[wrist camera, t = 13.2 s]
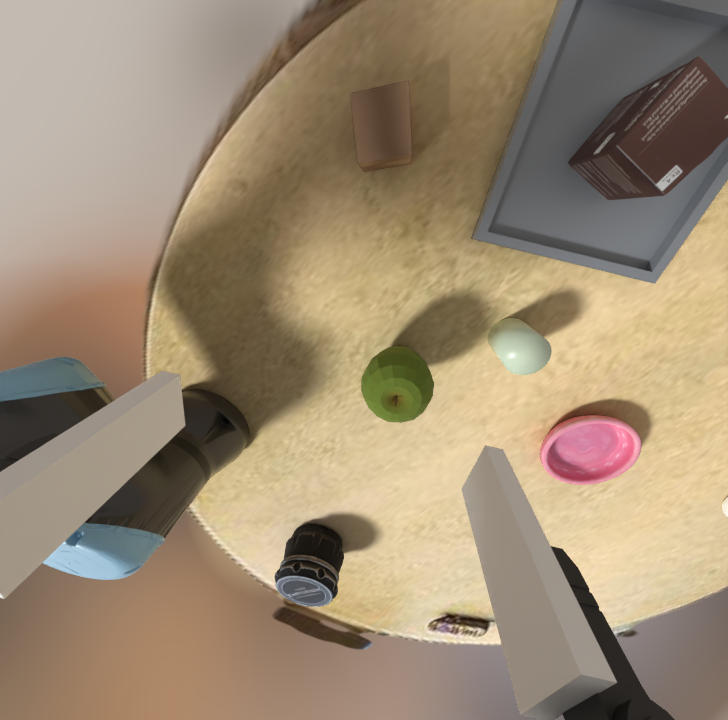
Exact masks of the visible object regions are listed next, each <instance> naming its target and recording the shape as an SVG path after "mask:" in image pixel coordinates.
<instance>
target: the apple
mask: <svg viewBox="0 0 728 720" xmlns="http://www.w3.org/2000/svg"><path fill="white" fill-rule="evenodd" d="M433 388H434V382H433V379H432V376H431V373H430V370H429V368H428V366H427V364H426V362H425V361H424V360H423V359H422V358H421V357H420V356H419V355H418V354H417V353H416V352H414V351H413V350H411V349H409V348H407V347H405V346H393V347H389V348H387V349H385V350H383V351H382V352H380V353H379V354H378V355H376V356H375V357H374V358H372V360H371V362H370V363H369V365H368V367H367V369H366V370H365V372H364V374H363V376H362V385H361V390H362V393H363V396H364V399H365V401H366V403H367V405H368V407H369V408H370V409H371V410H372V411H373V412H374V414H375V415H376V416H378V417H380V418H382V419H384V420H386V421H388V422H400V423H401V422H406V421H410V420H414V419H415V418H416V417H418V416H419V415H420V414H422V413H423V412H424V410H425V409H426V407H427V405H428V404H429V402H430V400H431V398H432V396H433Z"/></svg>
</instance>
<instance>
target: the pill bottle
mask: <svg viewBox="0 0 728 720" xmlns="http://www.w3.org/2000/svg"><path fill="white" fill-rule="evenodd" d="M722 510H723V512H724V514H725V515H726V516H727V517H728V497H727V498H726V499H725V500H724V501H723V503H722Z"/></svg>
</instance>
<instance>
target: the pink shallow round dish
mask: <svg viewBox="0 0 728 720" xmlns="http://www.w3.org/2000/svg"><path fill="white" fill-rule="evenodd" d="M640 452H641V439H640V437H639V435H638V433H637V432H636V431H635V430H634V429H633V428H632V427H631V426H630V425H628V424H627V423H625V422H623V421H621V420H619V419H616V418H613V417H608V416H598V415H587V416H578V417H573V418H570V419H567V420H565V421H563V422H561V423H559V424H557V425H556V426H555V427H554V428H553V429H552V430H551V431H550V432H549V433H548V435H547V436H546V437H545V439H544V441H543V443H542V446H541V449H540V459H541V462H542V464H543V466H544V468H545V470H546V471H547V472H548V473H549V474H550V475H551V476H553V477H554V478H556V479H558V480H560V481H563V482H566V483H570V484H580V485H585V484H595V483H600V482H604V481H607V480H610V479H613V478H615V477H617V476H619V475H621V474H622V473H624V472H625V471H627V470H628V469H629V468H630V467H631V466H632V465H633V464H634V463H635V462H636V460H637V459H638V457H639V455H640Z"/></svg>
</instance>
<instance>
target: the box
mask: <svg viewBox="0 0 728 720" xmlns="http://www.w3.org/2000/svg"><path fill="white" fill-rule="evenodd" d="M726 138H728V88H727V87H726V85H725V84H724V83H723V82H722V81H721V80H720V78H719V77H718V76H717V75H716V74H715V72H714V71H713V70H712V69H711V68H710V67H709V66H708V64H707V63H706V62H705V61H704V60H703V59H702V58H701V57H700V56H698V57H696V58H694V59H693V60H691V61H690V62H688V63H687V64H685V65H682V66H680V67H679V68H677V69H675V70H673V71H671V72H670V73H668V74H666V75H664V76H662V77H661V78H659V79H657V80H655V81H653V82H651V83H650V84H648V85H646V86H644V87H642V88H640V89H639V90H637V91H635V92H633V93H632V94H630V95H628V96H626V97H624V98H623V99H622V100H621V101H620V102H619V103H618V104H617V105H616V107H615V108H614V109H613V110H612V111H611V112H610V113H609V114H608V116H607V117H606V118H605V119H604V120H603V121H602V122H601V124H600V125H599V126H598V127H597V128H596V129H595V130H594V132H593V133H592V134H591V135H590V136H589V138H588V139H587V140H586V141H585V142H584V143H583V145H582V146H581V147H580V148H579V149H578V151H577V152H576V153H575V154H574V155H573V156H572V158H571V159H570V160H569V162H568V165H569V166H570V167H571V168H573V169H574V170H575V171H576V172H577V173H578V174H579V175H581V176H582V178H584V179H585V180H586V181H587V182H588V183H589V184H590V185H591V186H592V187H593V188H594V189H595V190H596V191H597V192H599V193H600V195H602V196H603V197H604V198H605V199H607V200H620V199H631V198H642V197H654V196H665V195H667V194H668V193H669V192H670V191H671V190H672V189H673V188H674V187H675V186H677V185H678V184H679V183H680V182H681V181H682V180H683V179H684V178H685V177H686V176H687V175H688V174H689V173H690V172H692V170H693V169H695V168H696V167H697V166H698V165H700V164H701V163H702V162H704V161H705V160H706V159H707V158H708V157H709V156H710V155H711V154H712V153H713V152H714V151H715V150H716V148H717V147H718V146H719V145H720V144H721V143H722V142H723V141H724V140H725V139H726Z"/></svg>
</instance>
